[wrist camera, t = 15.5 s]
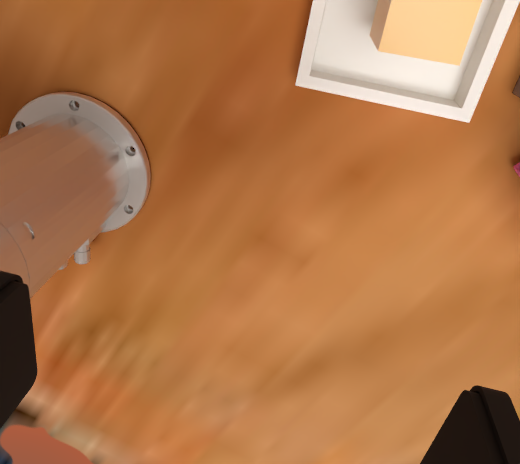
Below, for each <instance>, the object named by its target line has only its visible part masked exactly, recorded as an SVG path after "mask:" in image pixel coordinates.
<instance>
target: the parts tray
mask: <svg viewBox="0 0 520 464" xmlns="http://www.w3.org/2000/svg"><path fill="white" fill-rule="evenodd" d="M519 2H520V0H482V3H481V6H480V9H479V11H478V14H477V17H476V20H475V23H474V26H473V28H472V31H471V34H470V37H469V40H468V43H467V46H466V48H465V51H464V54H463V57H462V60H461V63H460V66H458V65H452V64H447V63H441V62H436V61H430V60H424V59H419V58H413V57H408V56H402V55H396V54H391V53H385V52H380V51H378V50H377V48H376V46H375V45H374V43H373V41H372V39H371V37H370V36H369V35H370V31H371V27H372V23H373V19H374V15H375V11H376V7H377V3H378V0H313V3H312V8H311V13H310V17H309V22H308V27H307V32H306V36H305V41H304V46H303V51H302V56H301V60H300V65H299V70H298V75H297V79H296V84H295V85H296V86H300V87H305V88H310V89H314V90H319V91H324V92H328V93H333V94H338V95H342V96H347V97H351V98H356V99H361V100H365V101H370V102H375V103H379V104H384V105H389V106H393V107H398V108H403V109H407V110H412V111H417V112H421V113H426V114H431V115H435V116H440V117H445V118H449V119H454V120H459V121H463V122H468V123H469V122H470V120H471V117H472V115H473V112H474V110H475V108H476V105H477V103H478V100H479V98H480V96H481V93H482V91H483V88H484V86H485V84H486V81H487V79H488V76H489V74H490V71H491V69H492V67H493V64H494V62H495V59H496V57H497V55H498V52H499V50H500V47H501V45H502V43H503V40H504V38H505V35H506V33H507V30H508V28H509V26H510V23H511V21H512V18H513V16H514V14H515V11H516V9H517V6H518V4H519Z"/></svg>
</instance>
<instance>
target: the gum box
mask: <svg viewBox="0 0 520 464" xmlns="http://www.w3.org/2000/svg"><path fill="white" fill-rule="evenodd" d="M514 170H515V171H516V173H517V174H518V175H519V177H520V162H519V163H517V164H516V165H514Z"/></svg>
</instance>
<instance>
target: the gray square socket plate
mask: <svg viewBox="0 0 520 464" xmlns="http://www.w3.org/2000/svg"><path fill="white" fill-rule="evenodd" d="M513 94H515V95H516V96H518V97H519V98H520V77H519V79H518V81H517V84H516V86H515V88H514V90H513Z"/></svg>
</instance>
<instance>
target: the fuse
mask: <svg viewBox="0 0 520 464" xmlns="http://www.w3.org/2000/svg"><path fill="white" fill-rule="evenodd" d="M481 3H482V0H378V3H377V7H376V11H375V15H374V19H373V23H372V27H371V31H370V35H369V36H370V37H371V39H372V41H373V43H374V45H375V46H376V48H377V50H378V51H380V52H385V53H391V54H396V55H402V56H408V57H413V58H419V59H424V60H430V61H436V62H441V63H447V64H452V65H458V66H460V63H461V60H462V57H463V54H464V51H465V48H466V46H467V43H468V40H469V37H470V34H471V31H472V28H473V26H474V23H475V20H476V17H477V14H478V11H479V9H480V6H481Z"/></svg>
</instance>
